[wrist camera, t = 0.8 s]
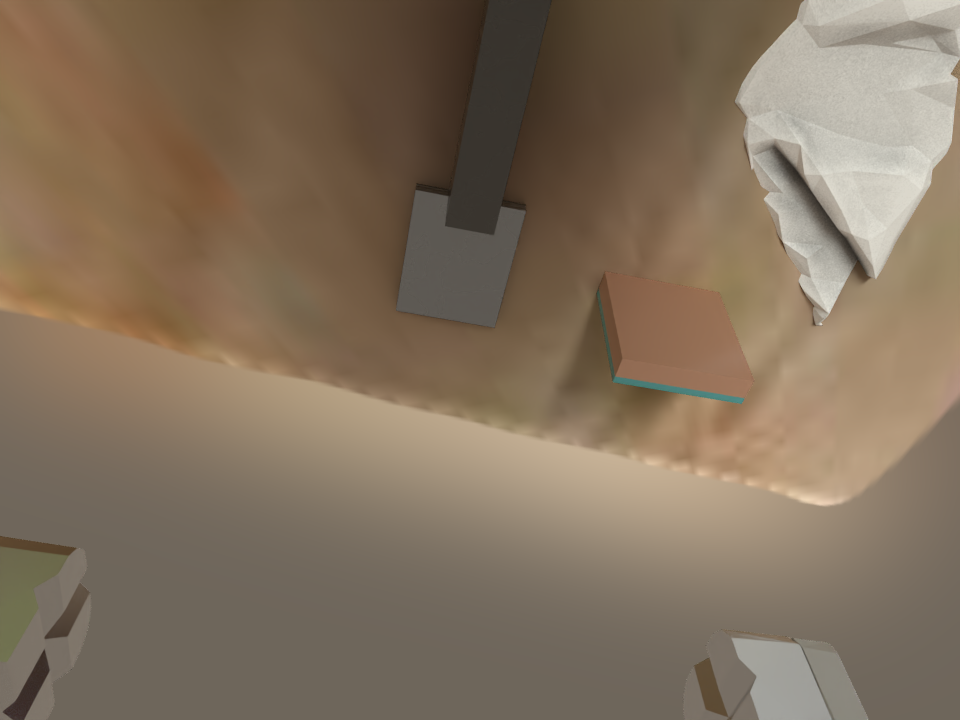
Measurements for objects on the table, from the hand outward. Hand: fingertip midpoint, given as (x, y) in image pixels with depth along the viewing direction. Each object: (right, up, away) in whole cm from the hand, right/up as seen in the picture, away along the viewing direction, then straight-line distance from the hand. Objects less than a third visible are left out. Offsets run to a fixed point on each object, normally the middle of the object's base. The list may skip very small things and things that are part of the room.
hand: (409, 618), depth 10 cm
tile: (+11, +7, +35) cm, 38 cm away
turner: (+1, +14, +30) cm, 33 cm away
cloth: (+20, +16, +29) cm, 39 cm away
